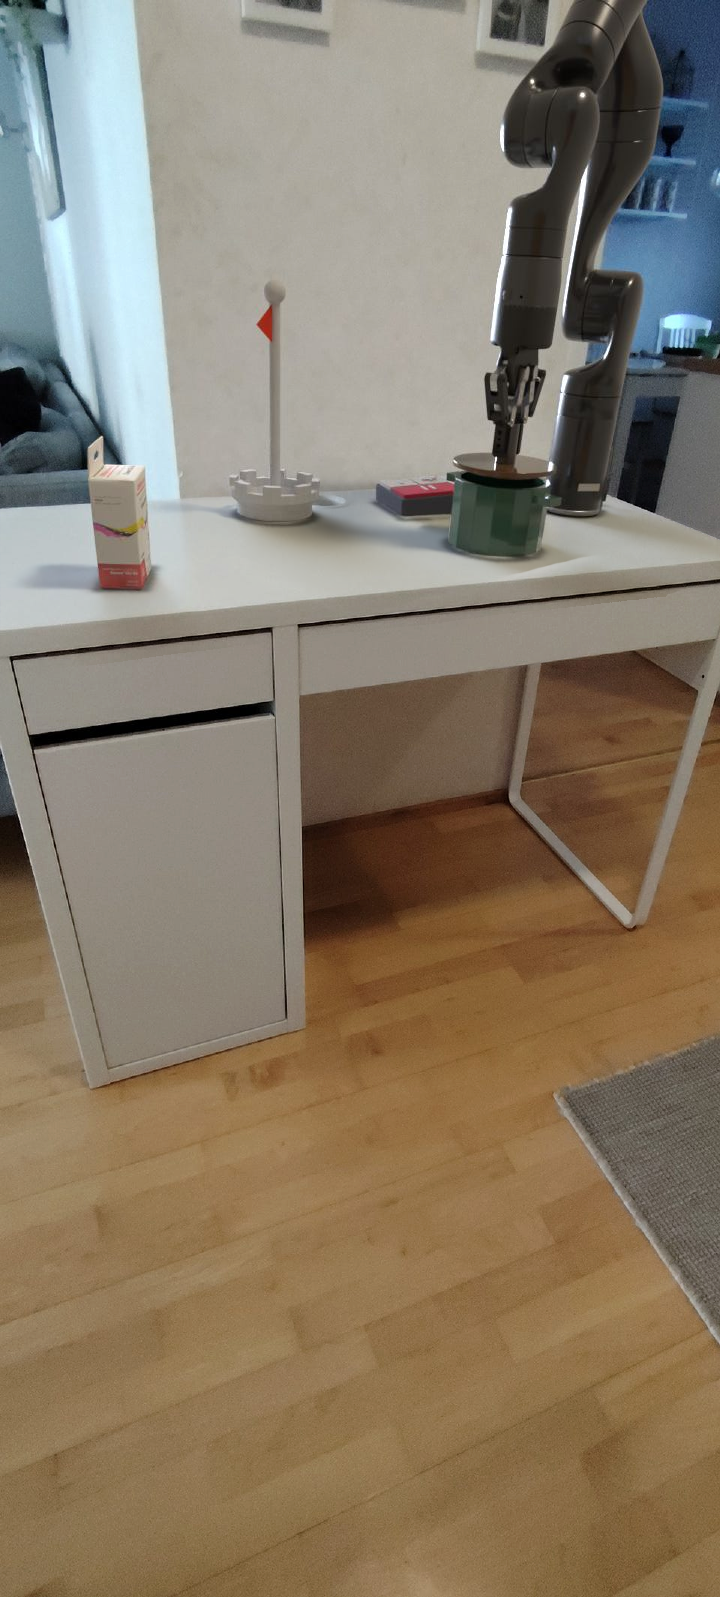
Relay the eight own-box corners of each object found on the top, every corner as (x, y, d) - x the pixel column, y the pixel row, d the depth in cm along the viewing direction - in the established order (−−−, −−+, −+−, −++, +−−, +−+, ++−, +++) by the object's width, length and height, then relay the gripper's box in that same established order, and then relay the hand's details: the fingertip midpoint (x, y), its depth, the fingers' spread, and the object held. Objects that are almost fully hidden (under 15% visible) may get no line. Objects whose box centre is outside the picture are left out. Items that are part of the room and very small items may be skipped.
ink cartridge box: (144, 590, 94) (132, 450, 86) (99, 589, 93) (82, 448, 86) (154, 567, 101) (143, 435, 93) (111, 566, 101) (97, 434, 93)
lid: (498, 458, 119) (504, 412, 116) (576, 476, 111) (585, 427, 108) (430, 467, 111) (435, 417, 108) (509, 487, 103) (517, 434, 100)
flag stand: (255, 500, 132) (252, 276, 116) (332, 512, 128) (339, 282, 112) (214, 518, 122) (204, 274, 106) (296, 531, 118) (298, 280, 102)
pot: (475, 526, 125) (483, 462, 121) (574, 556, 114) (586, 487, 110) (415, 538, 118) (421, 470, 113) (514, 571, 107) (525, 498, 102)
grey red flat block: (375, 478, 133) (460, 471, 138) (374, 506, 135) (458, 498, 140) (403, 494, 124) (492, 486, 129) (402, 524, 127) (490, 514, 131)
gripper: (531, 304, 94) (508, 467, 103) (577, 304, 104) (553, 453, 113) (471, 299, 97) (455, 458, 107) (521, 300, 107) (502, 445, 117)
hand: (505, 454), depth 110 cm, fingers closed on lid, 2 cm apart
